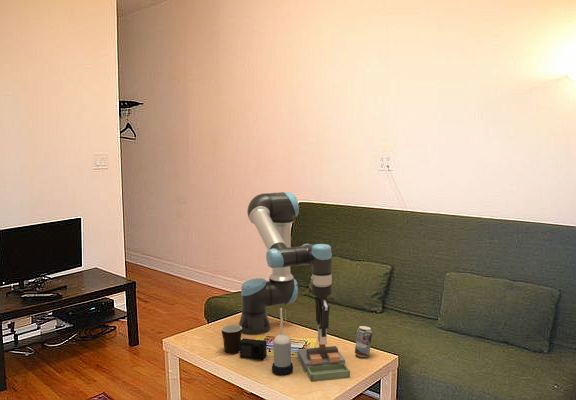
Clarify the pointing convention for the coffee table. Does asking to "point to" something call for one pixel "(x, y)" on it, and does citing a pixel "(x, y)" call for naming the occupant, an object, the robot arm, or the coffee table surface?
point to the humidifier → (282, 353)
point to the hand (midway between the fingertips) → (322, 342)
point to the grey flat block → (306, 362)
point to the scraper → (321, 349)
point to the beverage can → (363, 341)
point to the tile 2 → (333, 357)
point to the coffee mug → (231, 338)
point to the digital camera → (253, 349)
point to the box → (328, 372)
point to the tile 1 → (316, 359)
